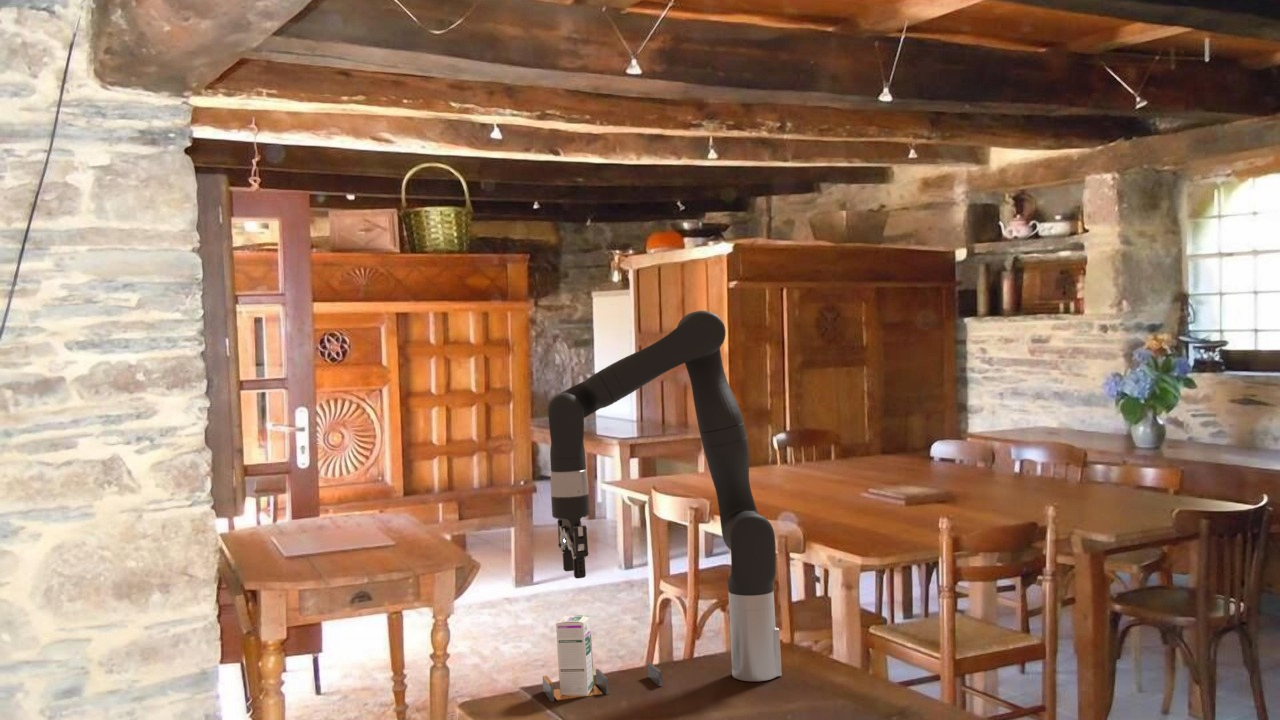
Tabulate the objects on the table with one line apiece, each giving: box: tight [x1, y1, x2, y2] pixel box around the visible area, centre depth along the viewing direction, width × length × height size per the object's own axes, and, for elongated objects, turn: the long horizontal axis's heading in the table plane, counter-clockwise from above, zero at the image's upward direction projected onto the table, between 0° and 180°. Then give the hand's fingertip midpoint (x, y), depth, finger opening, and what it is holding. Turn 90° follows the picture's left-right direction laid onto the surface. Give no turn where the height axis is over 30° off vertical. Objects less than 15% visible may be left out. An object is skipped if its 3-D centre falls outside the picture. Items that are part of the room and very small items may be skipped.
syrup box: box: [555, 614, 595, 697], centre depth 213 cm, size 6×6×14 cm
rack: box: [542, 661, 663, 703], centre depth 214 cm, size 23×8×3 cm, turn 108°
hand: (574, 574), depth 214 cm, fingers open, 8 cm apart
